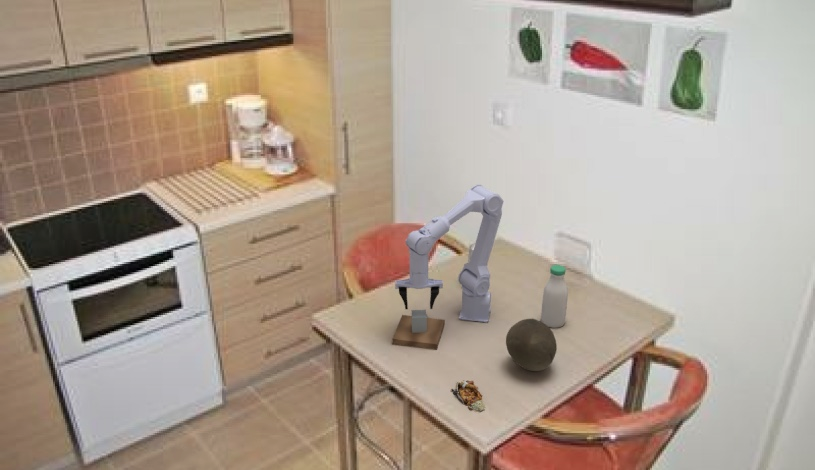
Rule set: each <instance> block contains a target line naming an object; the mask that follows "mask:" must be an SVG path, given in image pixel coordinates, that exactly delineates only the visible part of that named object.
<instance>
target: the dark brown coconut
mask: <svg viewBox="0 0 815 470" xmlns="http://www.w3.org/2000/svg"><path fill="white" fill-rule="evenodd" d="M505 345H506V349H507V352H508V355H509V356H510V357H511V360H513V361H514V362H515V364H517V365H518V366H520V367H521V368H522V369H525V370H528V371H532V372H541V371H543V370H545V369H547V368H549V367H550V366H551V365H552V363H553V361H554V358H555V357H556V354H557V349H558V347H557V341H556V337H555V335H554V332H553V331H552V330H551V327H548V326H547V325H545V324H544V323H543V322H541V320H538V319H535V318H534V319H533V318H525V319H522V320H519V321H517V322H516V323H514V324H513V325H511V327H510V328H509V330H508V332H507V334H506V336H505Z"/></svg>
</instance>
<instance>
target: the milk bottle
mask: <svg viewBox="0 0 815 470" xmlns="http://www.w3.org/2000/svg"><path fill="white" fill-rule="evenodd" d="M566 270H567V269H566V267H565V266H563V265H562V264H554V265H551V267H550V271H549V274H550V277H549V279H548V280H547V282H546V283H545V285H544V288H543V294H542V303H541V312H540V321H541V322H543V323H544V324H545V325H547V326H548V327H549V328H550V329H551V328H552V329H556V328H561V327H563V326H564V325H565V324H566V323H565V322H566V318H567V317H566V315H567V308H568V307H567V306H568V296H569V292H568V291H569V289H568V286H567V283H566V280H565V276H566Z"/></svg>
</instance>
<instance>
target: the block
mask: <svg viewBox="0 0 815 470" xmlns="http://www.w3.org/2000/svg"><path fill="white" fill-rule="evenodd" d="M411 316H412V333H423V332H427V318H428V316H427V310H426V309H412V310H411Z"/></svg>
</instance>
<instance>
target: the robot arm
mask: <svg viewBox="0 0 815 470" xmlns="http://www.w3.org/2000/svg"><path fill="white" fill-rule="evenodd" d="M503 205H504V200H503V198H502V196H501V195H500V194H498V193H496V192H494V191H492V190H490V189H488V188H486V187H485V186H483V185H482V184H475V185H473V186H471V188H470V189H468V190H467V191H466V192H465V195H464V197H463V198H462V199H461V200H460V201H459V202H458V203H456V204H455V205H454V206H453V207H452V208H451V209H450V210H449V211H447V212H446V213H445V214H444V215H441V216H440V215H437V216H436V217H435V216H434V217H433V218H431V220H430V221H429V222H428V223H426V224H425V225H424V226H422V227H421V228H420V229H418V230H417V229H416V230H413V231H411V232H410V233H408V235H407V238H406V239H405V241H404V242H405V245H406V246H407V247H408V252H409V258H408V259H409V260H408V261H409V263H408V265H409V278H405V279H399V280H394V282H395V283H394V289H395V290H398V294H399V296H400V297H401V299H402V301H403V304H404V308H405V309H404V310H408V307H409V305H408V304H409V303H408V289H410V288H411V289H414V290H415V289H416V290H422V289H427V288H430V300H429V309H430V310H433V307H434V303H435V301H436V299H437V297H438V296H439V294H440V289H444V282H443V281H444V280H443V279H435V278H429V256H430V255H429V254H430V252H431V250H432V249H433V247H434V245H435V244H436V242H437V241H438V240H439V239H441V238H442V237H443V236H445V235H446V234H448V232H449V231H450V227H451V225H452V224H454V223H456V222H458V221H459V220H461V219H462V218H463V217H465V216H466V215H468V214H469V213H480V214H481V215H482V219H481V223H480V226H479V230H478V232H477V237H476V240H475V247H474V250H473V254H472V257H471V261H470V262H466V263H464V264H463V267H462V269H461V271H460V272H459V274H458V278H457V281H458V283H459V284H460V285H461V289H462V291H461V292H462V294H461V295H462V296H461V309H460V312H459V316H458V319H459V320H463V321H471V322H472V321H473V322H480V323H488V322H489V319H490V314H491V311H492V308H491V303H492V302H491V301H492V292H490V291H489V289H490V286H491V284H490V283H491V282H490V279H491V273H490V270H489V268H488V264H489V259H490V258H491V257H490V256H491V254H492V249H493V246H494V243H495V241H496V240H495V239H496V236H497V233H498V229H499V226H500V223H501V219H502V214H503V211H502V210H503V209H502V208H503Z"/></svg>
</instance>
